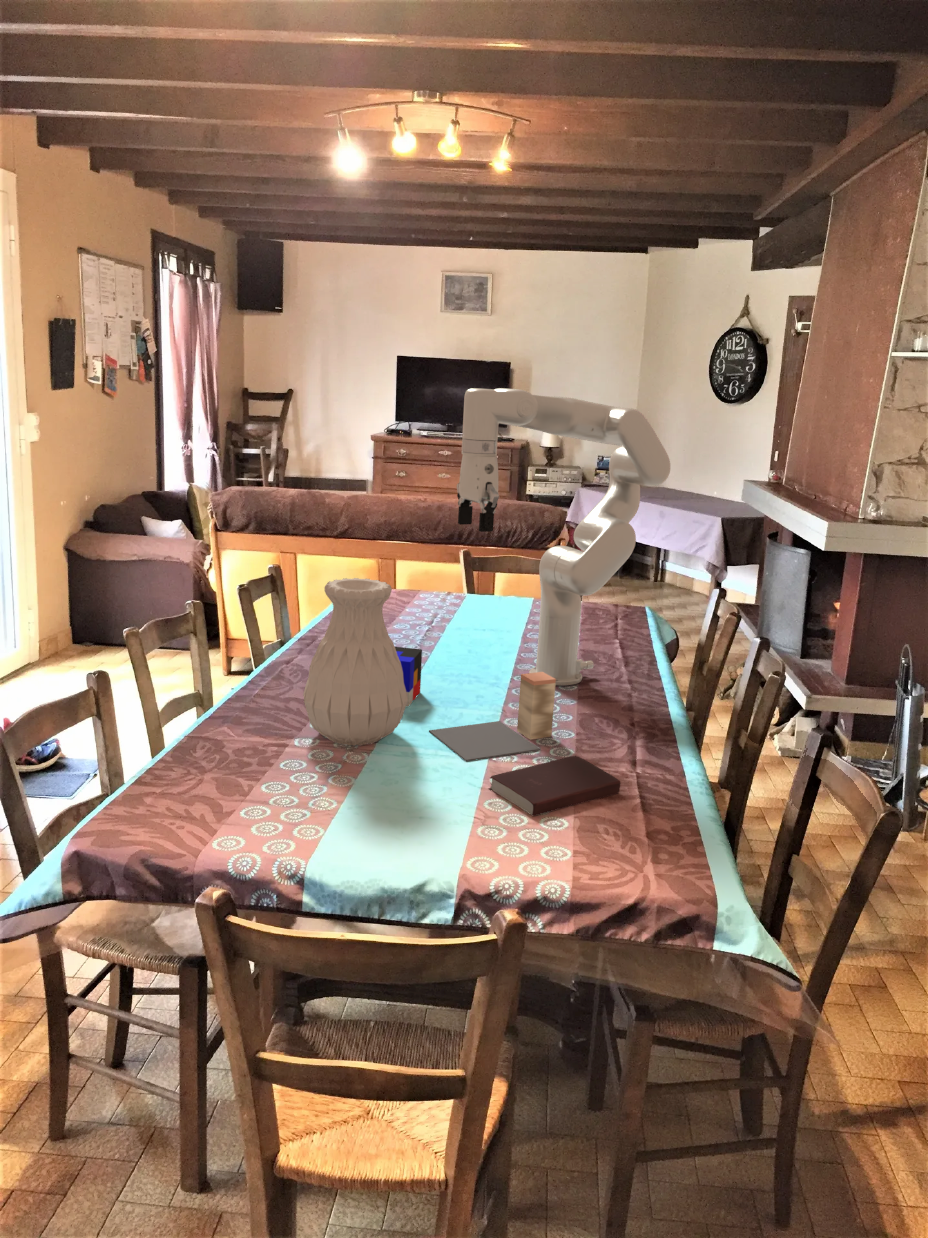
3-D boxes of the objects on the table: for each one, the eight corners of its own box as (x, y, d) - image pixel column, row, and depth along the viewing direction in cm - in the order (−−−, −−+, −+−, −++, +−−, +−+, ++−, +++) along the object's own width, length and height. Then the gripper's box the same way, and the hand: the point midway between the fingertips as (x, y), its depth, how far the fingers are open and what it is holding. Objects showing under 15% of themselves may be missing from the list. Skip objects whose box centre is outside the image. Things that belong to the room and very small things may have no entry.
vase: (427, 739, 188) (434, 588, 180) (345, 764, 174) (348, 601, 167) (363, 711, 202) (366, 569, 194) (281, 731, 188) (282, 580, 180)
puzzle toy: (408, 707, 206) (410, 662, 203) (363, 701, 208) (364, 656, 205) (420, 692, 215) (422, 649, 213) (376, 687, 217) (378, 644, 215)
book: (620, 796, 168) (622, 778, 167) (532, 819, 157) (534, 801, 156) (573, 770, 178) (574, 754, 177) (487, 791, 167) (488, 773, 166)
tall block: (538, 728, 197) (542, 671, 194) (551, 736, 193) (555, 679, 190) (517, 731, 195) (520, 674, 192) (529, 739, 191) (534, 681, 188)
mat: (499, 722, 199) (499, 721, 199) (540, 750, 185) (540, 748, 185) (428, 731, 192) (429, 730, 192) (465, 761, 178) (465, 759, 178)
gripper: (515, 452, 201) (509, 533, 205) (475, 444, 215) (471, 521, 220) (483, 451, 197) (478, 534, 201) (445, 444, 212) (442, 521, 216)
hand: (475, 527), depth 210 cm, fingers open, 9 cm apart
